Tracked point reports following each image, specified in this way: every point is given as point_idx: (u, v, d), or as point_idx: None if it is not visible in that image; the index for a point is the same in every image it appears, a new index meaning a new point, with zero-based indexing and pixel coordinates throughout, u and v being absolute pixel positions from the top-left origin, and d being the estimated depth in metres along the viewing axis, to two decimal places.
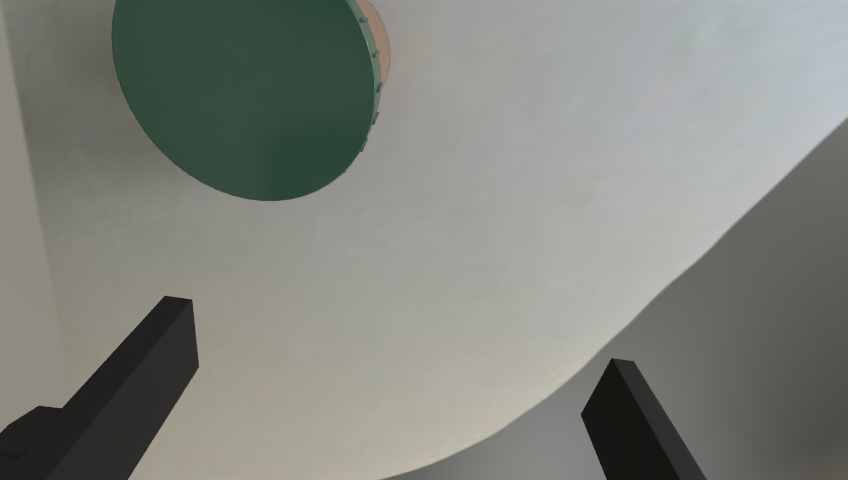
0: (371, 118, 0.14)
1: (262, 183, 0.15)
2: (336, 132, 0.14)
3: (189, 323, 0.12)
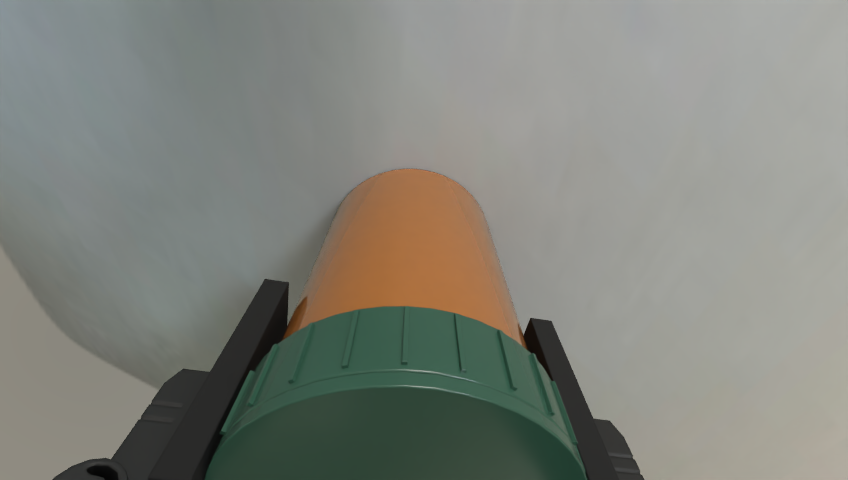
0: (548, 431, 0.08)
1: None
2: (530, 475, 0.08)
3: (285, 304, 0.13)
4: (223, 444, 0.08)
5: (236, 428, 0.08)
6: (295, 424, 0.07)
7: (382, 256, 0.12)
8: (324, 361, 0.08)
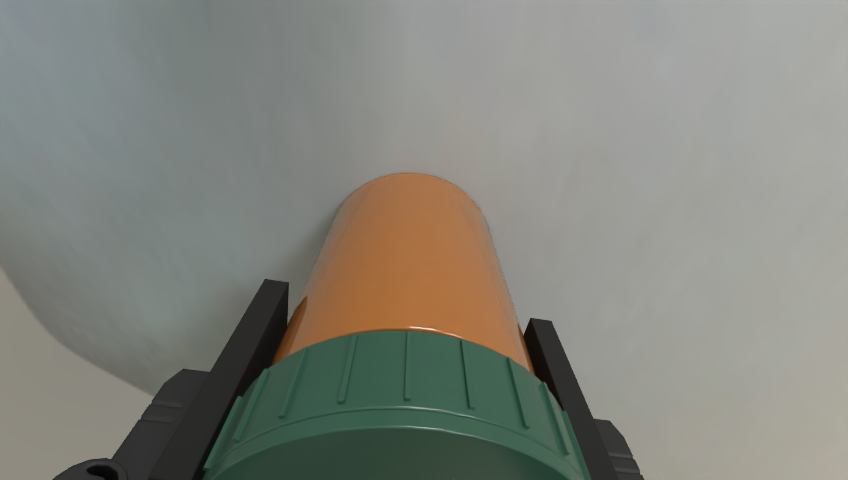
0: (219, 474, 0.07)
1: (499, 477, 0.07)
2: None
3: (285, 303, 0.13)
4: None
5: None
6: None
7: (383, 266, 0.11)
8: None
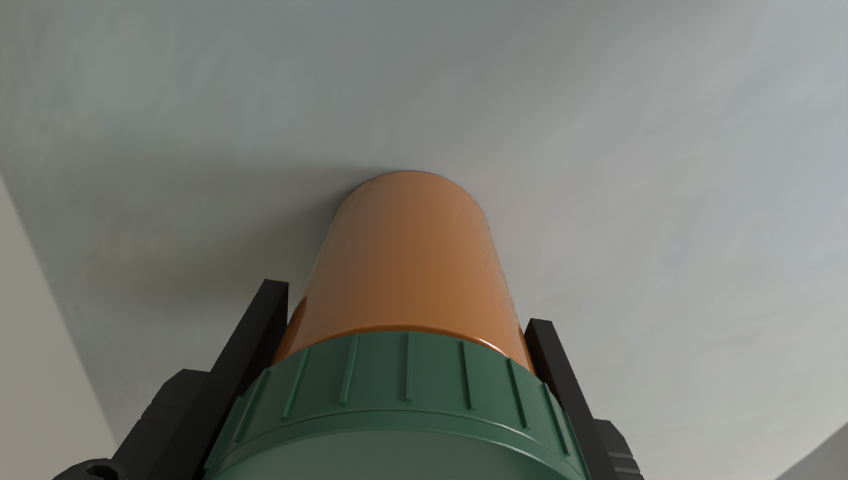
0: (219, 475, 0.07)
1: (500, 478, 0.07)
2: None
3: (285, 304, 0.13)
4: None
5: None
6: None
7: (492, 291, 0.12)
8: None
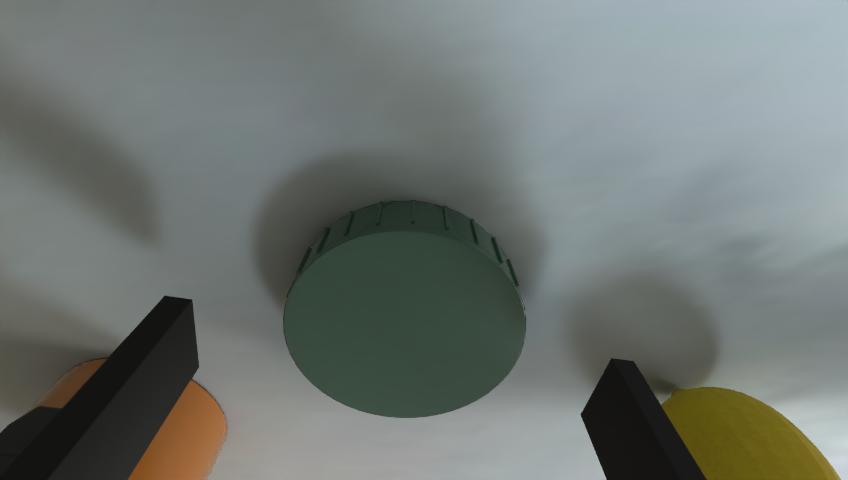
0: (310, 265, 0.13)
1: (462, 266, 0.13)
2: (353, 270, 0.13)
3: (189, 324, 0.12)
4: None
5: (328, 393, 0.16)
6: (317, 373, 0.15)
7: None
8: None
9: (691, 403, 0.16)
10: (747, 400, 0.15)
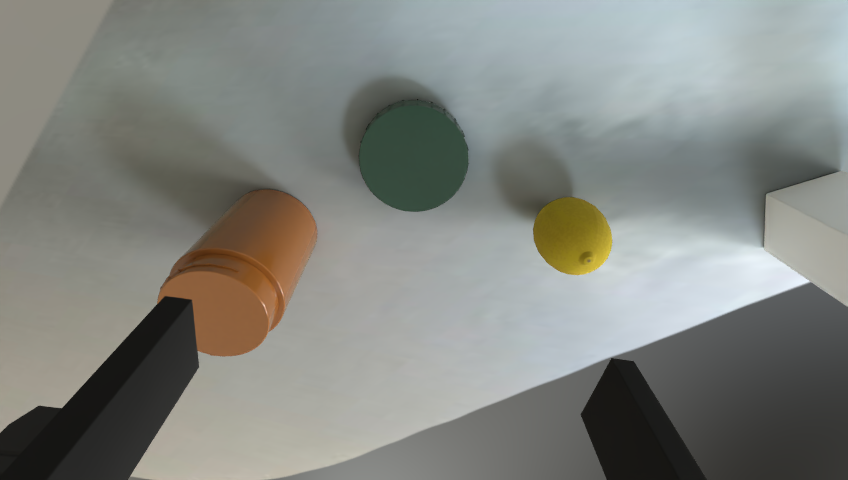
0: (373, 122, 0.30)
1: (438, 123, 0.30)
2: (391, 125, 0.30)
3: (189, 324, 0.12)
4: None
5: (376, 196, 0.33)
6: (372, 183, 0.32)
7: (292, 270, 0.29)
8: None
9: (550, 202, 0.33)
10: None
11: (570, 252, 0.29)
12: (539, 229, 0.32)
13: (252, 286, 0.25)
